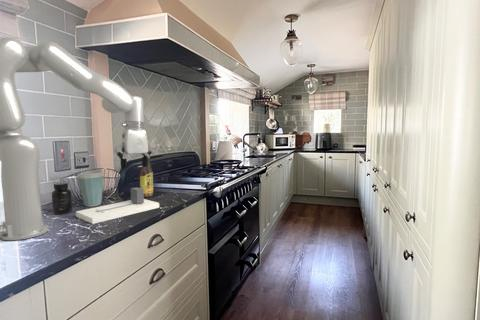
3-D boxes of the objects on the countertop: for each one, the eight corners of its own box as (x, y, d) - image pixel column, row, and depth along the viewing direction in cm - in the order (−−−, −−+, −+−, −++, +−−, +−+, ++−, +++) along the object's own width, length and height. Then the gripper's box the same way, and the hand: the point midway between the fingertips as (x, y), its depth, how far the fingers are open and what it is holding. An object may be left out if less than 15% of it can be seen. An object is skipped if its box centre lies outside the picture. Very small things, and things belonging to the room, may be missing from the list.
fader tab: (137, 204, 121) (136, 189, 121) (131, 202, 124) (130, 188, 124) (143, 202, 124) (143, 188, 123) (137, 200, 127) (136, 187, 126)
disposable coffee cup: (87, 209, 122) (85, 174, 120) (73, 205, 128) (71, 172, 126) (110, 203, 131) (109, 171, 129) (96, 200, 136) (95, 169, 135)
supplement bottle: (55, 211, 119) (53, 182, 118) (74, 209, 122) (72, 181, 120) (50, 215, 113) (48, 185, 112) (70, 214, 115) (68, 184, 114)
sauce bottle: (149, 197, 142) (147, 157, 140) (137, 197, 143) (136, 157, 141) (155, 194, 148) (154, 156, 146) (144, 194, 150) (143, 156, 148)
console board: (92, 223, 103) (92, 218, 103) (76, 216, 112) (75, 211, 111) (159, 207, 124) (159, 202, 124) (141, 202, 133) (140, 197, 133)
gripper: (118, 125, 112) (119, 169, 113) (157, 127, 125) (157, 166, 126) (109, 125, 116) (110, 168, 118) (147, 127, 130) (147, 165, 131)
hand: (134, 167), depth 122 cm, fingers open, 9 cm apart
